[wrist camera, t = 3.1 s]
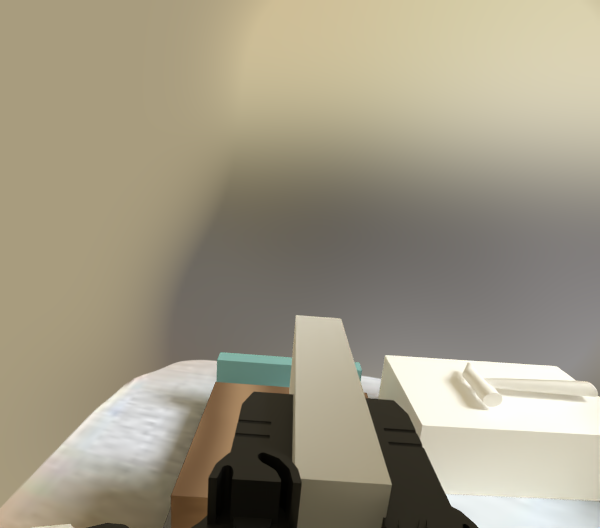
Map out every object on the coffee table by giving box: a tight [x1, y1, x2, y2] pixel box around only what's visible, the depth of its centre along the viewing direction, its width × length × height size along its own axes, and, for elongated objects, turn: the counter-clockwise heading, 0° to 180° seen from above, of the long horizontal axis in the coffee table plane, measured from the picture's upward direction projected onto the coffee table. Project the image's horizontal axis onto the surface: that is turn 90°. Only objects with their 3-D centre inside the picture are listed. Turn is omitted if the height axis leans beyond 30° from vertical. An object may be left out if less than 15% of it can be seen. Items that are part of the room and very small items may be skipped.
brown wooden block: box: [171, 382, 368, 528], centre depth 28 cm, size 14×12×8 cm
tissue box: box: [378, 355, 600, 501], centre depth 44 cm, size 14×25×11 cm, turn 92°
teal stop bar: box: [217, 352, 362, 387], centre depth 48 cm, size 19×2×8 cm, turn 90°
